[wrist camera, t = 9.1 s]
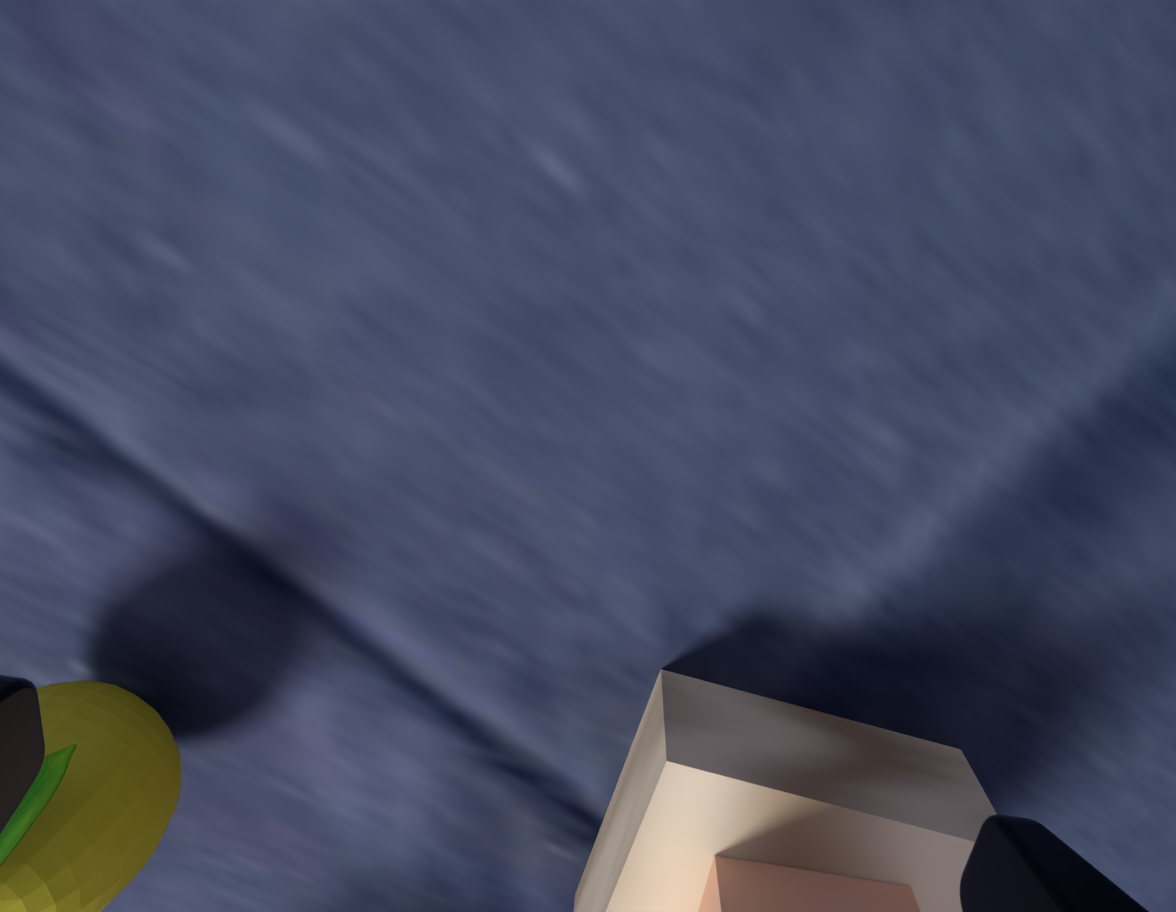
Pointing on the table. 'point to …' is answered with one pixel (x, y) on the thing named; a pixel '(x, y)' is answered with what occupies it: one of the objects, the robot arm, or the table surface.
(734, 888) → the terracotta cube
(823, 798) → the beech block
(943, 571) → the table surface
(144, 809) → the lemon
